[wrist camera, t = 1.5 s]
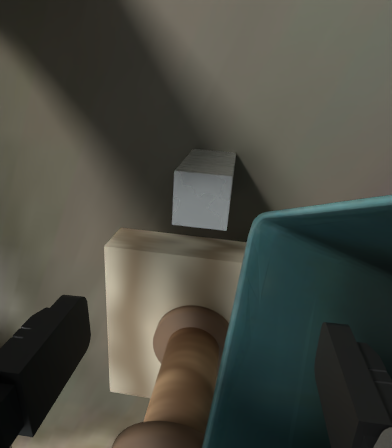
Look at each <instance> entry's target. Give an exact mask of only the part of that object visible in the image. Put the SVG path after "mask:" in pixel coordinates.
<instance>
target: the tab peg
mask: <svg viewBox="0 0 392 448" xmlns="http://www.w3.org/2000/svg"><path fill="white" fill-rule="evenodd" d="M235 159H236V153H235V152H224V151H213V150H202V149H193V150H192V151H191V152H190V153H189V154H188V155H187V157H186V158H185V159H184V160H183V161H182V162H181V164H180V165H179V166H178V167H177V168H176V169H175V171H174V188H173V212H172V225H180V226H188V227H197V228H206V229H215V230H224V231H227V224H228V217H229V210H230V202H231V195H232V186H233V177H234V168H235Z"/></svg>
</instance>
